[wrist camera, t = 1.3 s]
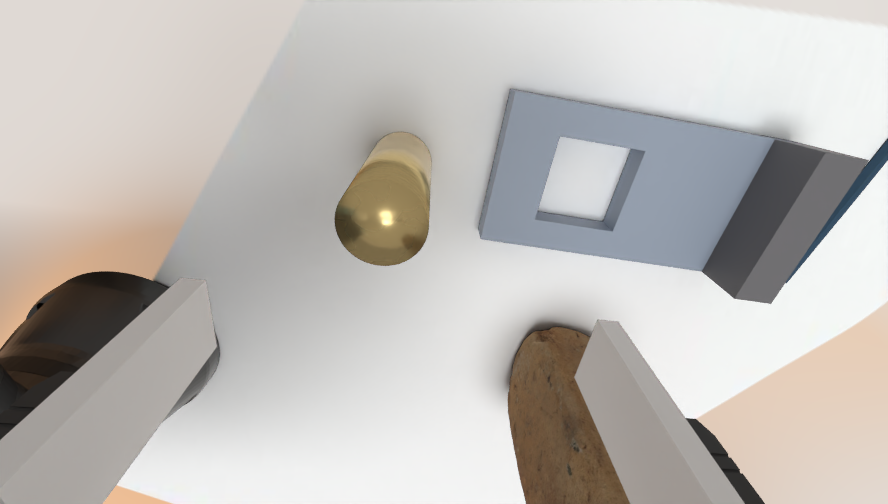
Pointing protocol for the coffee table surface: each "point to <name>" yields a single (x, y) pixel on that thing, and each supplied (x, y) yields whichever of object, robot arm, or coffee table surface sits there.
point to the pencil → (849, 198)
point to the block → (557, 425)
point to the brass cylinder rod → (388, 202)
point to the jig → (670, 193)
